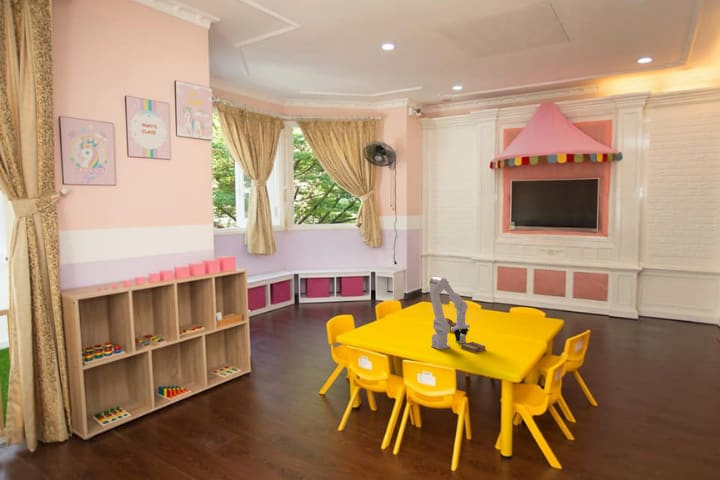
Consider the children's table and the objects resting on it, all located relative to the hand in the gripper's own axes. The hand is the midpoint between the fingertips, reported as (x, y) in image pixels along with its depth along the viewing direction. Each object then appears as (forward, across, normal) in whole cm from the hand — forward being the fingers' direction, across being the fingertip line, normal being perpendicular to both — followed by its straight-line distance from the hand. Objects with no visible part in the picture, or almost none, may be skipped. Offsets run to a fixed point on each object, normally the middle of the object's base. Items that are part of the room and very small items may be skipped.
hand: (460, 340), depth 286 cm
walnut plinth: (+2, -4, -14) cm, 15 cm away
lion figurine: (+2, +14, +20) cm, 25 cm away
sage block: (+1, 0, 0) cm, 1 cm away
